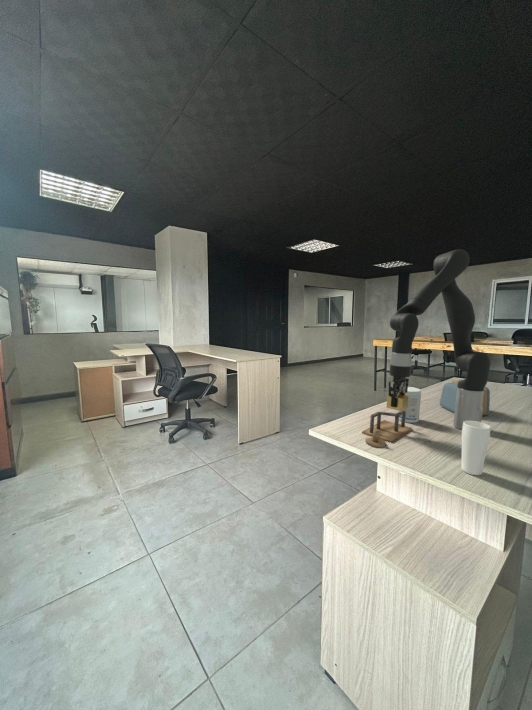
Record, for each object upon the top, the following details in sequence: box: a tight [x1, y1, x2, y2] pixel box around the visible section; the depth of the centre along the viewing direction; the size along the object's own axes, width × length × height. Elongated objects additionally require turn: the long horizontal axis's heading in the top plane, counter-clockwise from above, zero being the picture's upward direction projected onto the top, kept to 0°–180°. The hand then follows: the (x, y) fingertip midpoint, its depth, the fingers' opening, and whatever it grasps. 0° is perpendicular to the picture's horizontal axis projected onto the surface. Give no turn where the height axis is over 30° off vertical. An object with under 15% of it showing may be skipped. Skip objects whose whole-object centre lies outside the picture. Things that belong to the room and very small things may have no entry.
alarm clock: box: [439, 379, 491, 416], centre depth 145 cm, size 16×16×16 cm
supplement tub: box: [396, 386, 422, 424], centre depth 130 cm, size 10×10×15 cm
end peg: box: [365, 430, 387, 448], centre depth 105 cm, size 7×7×5 cm
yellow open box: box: [386, 394, 409, 411], centre depth 114 cm, size 6×6×5 cm
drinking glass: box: [460, 421, 492, 476], centre depth 85 cm, size 7×7×15 cm
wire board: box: [361, 410, 413, 444], centre depth 116 cm, size 12×20×8 cm, turn 133°
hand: (397, 405), depth 114 cm, fingers closed on yellow open box, 6 cm apart
